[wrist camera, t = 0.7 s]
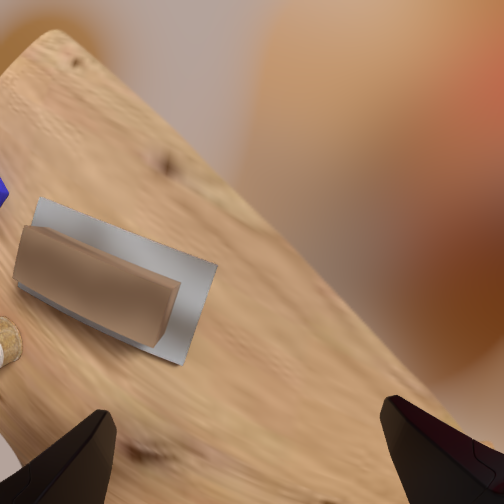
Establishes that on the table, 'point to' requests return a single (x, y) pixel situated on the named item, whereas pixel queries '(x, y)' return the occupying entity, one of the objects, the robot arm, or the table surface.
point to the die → (3, 192)
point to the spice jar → (9, 342)
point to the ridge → (113, 279)
